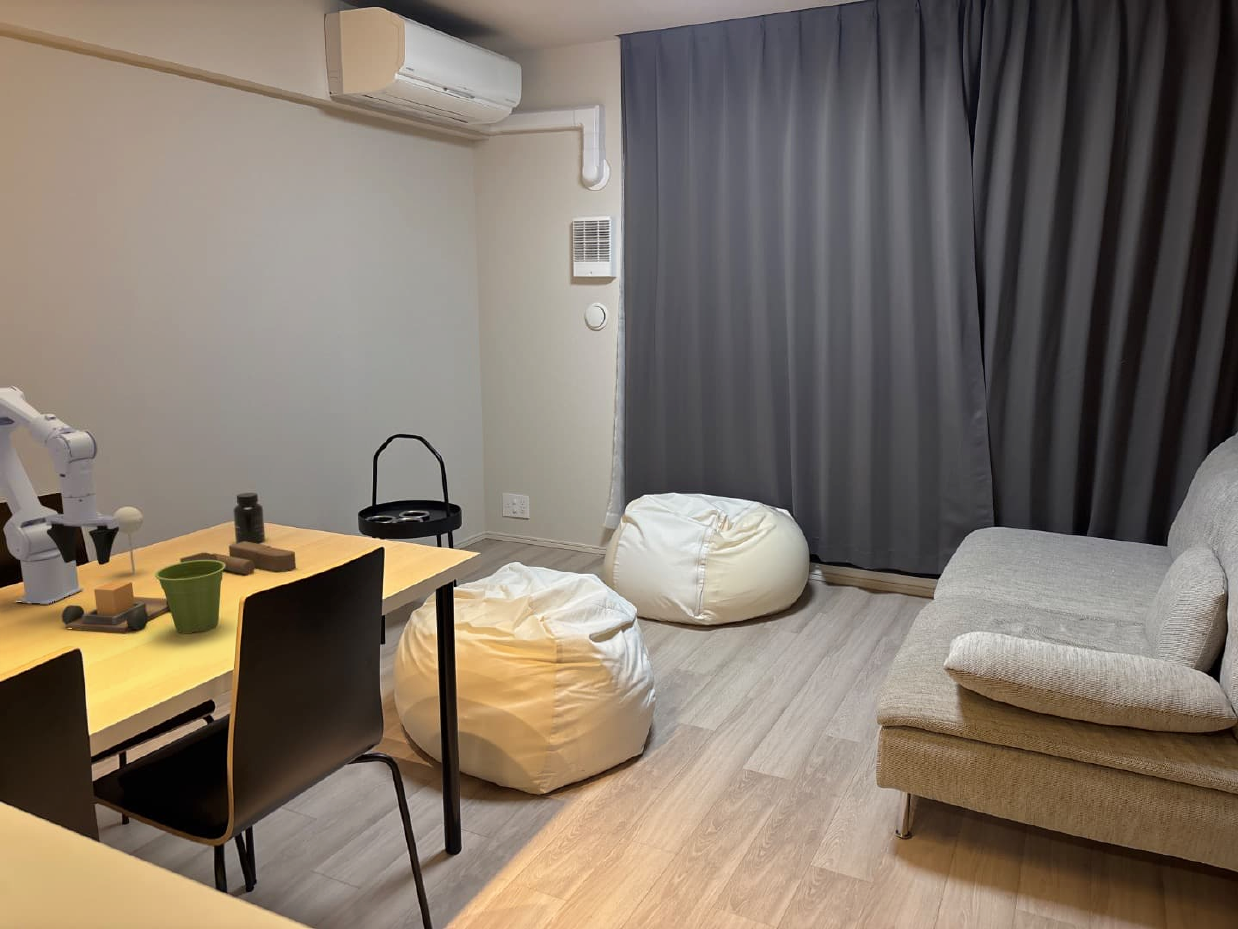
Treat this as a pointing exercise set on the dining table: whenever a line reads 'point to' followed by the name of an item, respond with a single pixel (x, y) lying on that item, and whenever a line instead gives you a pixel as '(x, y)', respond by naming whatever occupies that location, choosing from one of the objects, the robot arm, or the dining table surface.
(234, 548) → the wooden block set
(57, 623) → the dining table surface
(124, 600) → the tan wooden cube
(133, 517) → the lollipop
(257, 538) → the supplement bottle
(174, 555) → the dining table surface
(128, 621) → the chassis board
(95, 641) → the dining table surface
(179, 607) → the plant pot
